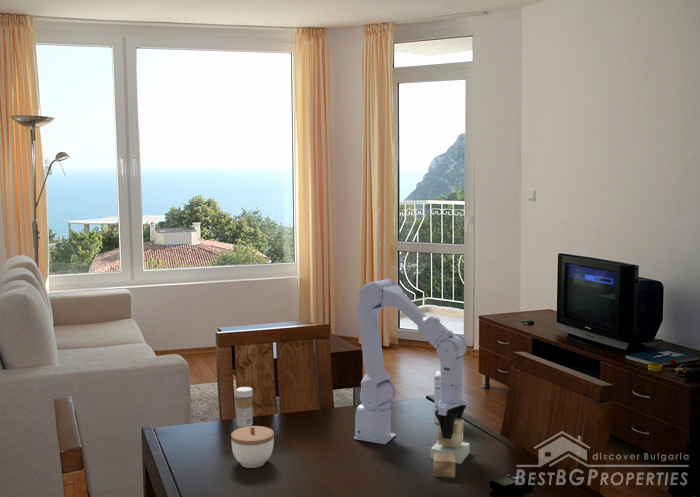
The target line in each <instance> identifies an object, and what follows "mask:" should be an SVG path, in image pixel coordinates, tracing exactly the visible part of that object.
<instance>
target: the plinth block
mask: <svg viewBox="0 0 700 497" xmlns="http://www.w3.org/2000/svg"><path fill="white" fill-rule="evenodd" d="M470 445H471V444H470V442H465V441H463V442H462V443H461V444H460V445H459V446H458V447H457V448H455V447H449V446H444V445H438V440H437V442H436V443H435V444H433V445H432V446H431V448H430V459H431V460H433V457H434V453H447V454H454V457H455V464H459V465H461V464H462V463H463V461H464V460H465V459H466V458H467V457H468V455H469V454H470V449H471V448H470Z"/></svg>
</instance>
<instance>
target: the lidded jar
mask: <svg viewBox="0 0 700 497" xmlns="http://www.w3.org/2000/svg"><path fill="white" fill-rule="evenodd" d="M274 438H275V432H274V430H273V429H272V428H269V427H267V426H260V425H252V426H249V427H243V428H239V429H237V428H236V429H235V430H234V431H232V432H231V433H230V439H231V450H232V453H233V457H234V458H235V459H236V461H237V462H239V464H240V466H241V467H244V468H247V469H253V468H260V467H262V466H265V464H266V462H267V461H268V460H269V458H271V456H272V453H273V450H274V443H275V442H274V441H275V440H274Z"/></svg>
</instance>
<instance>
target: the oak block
mask: <svg viewBox="0 0 700 497" xmlns="http://www.w3.org/2000/svg"><path fill="white" fill-rule="evenodd" d="M432 460H433V463H432V464H433V467H432V469H433V477H435V478H437V477H438V478H456V463H455V457H454V454H447V453H434V457H433V459H432Z"/></svg>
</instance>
